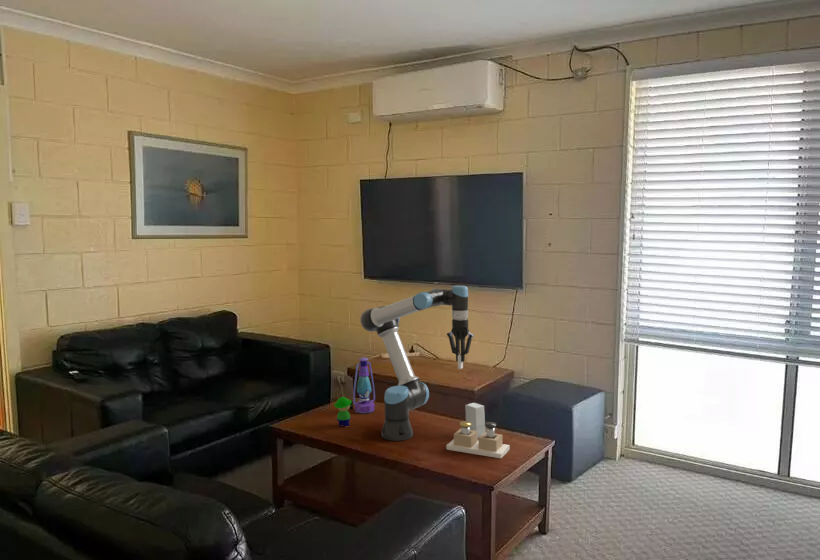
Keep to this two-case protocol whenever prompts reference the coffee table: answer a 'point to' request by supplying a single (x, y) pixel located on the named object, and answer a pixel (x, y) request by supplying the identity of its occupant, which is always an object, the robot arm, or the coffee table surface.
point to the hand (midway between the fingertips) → (460, 368)
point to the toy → (344, 410)
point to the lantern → (363, 388)
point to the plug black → (490, 429)
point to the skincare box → (476, 417)
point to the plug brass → (465, 427)
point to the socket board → (478, 444)
